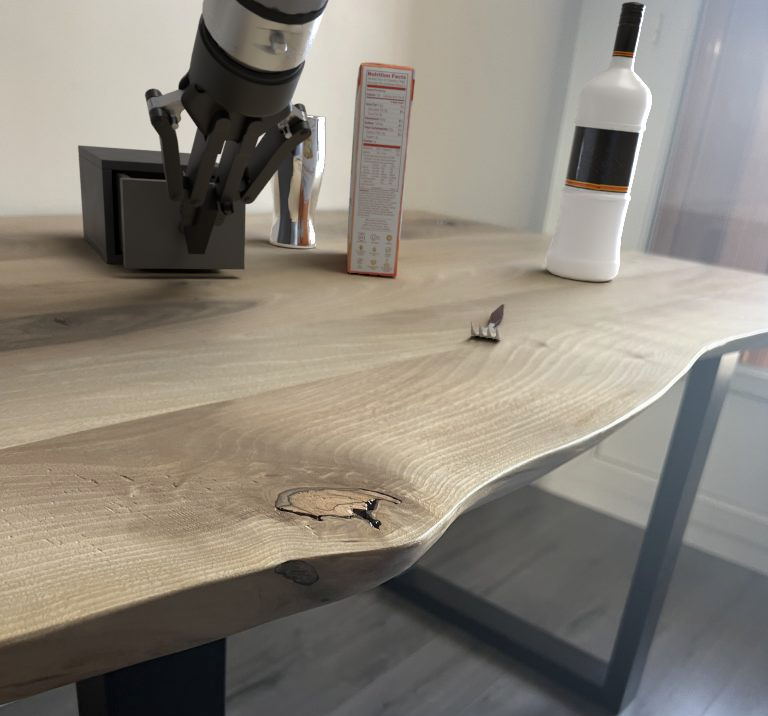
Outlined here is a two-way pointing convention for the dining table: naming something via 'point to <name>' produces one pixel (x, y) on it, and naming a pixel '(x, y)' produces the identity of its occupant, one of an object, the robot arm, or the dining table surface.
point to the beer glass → (299, 190)
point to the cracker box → (379, 167)
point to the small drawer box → (99, 190)
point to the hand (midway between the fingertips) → (193, 241)
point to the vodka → (602, 163)
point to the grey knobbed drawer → (168, 227)
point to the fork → (491, 324)
